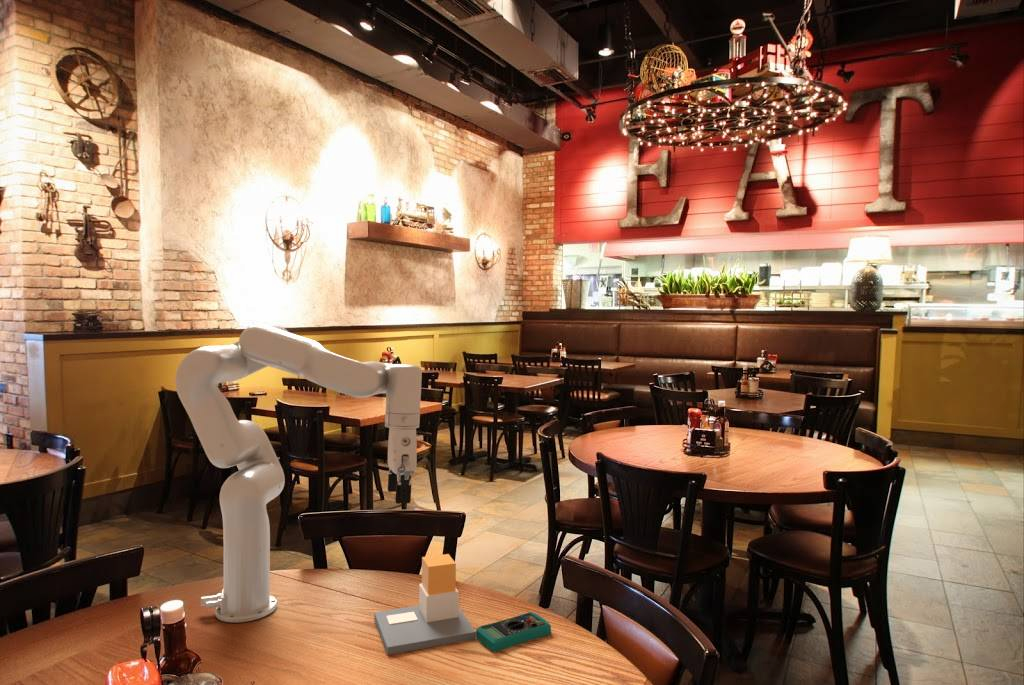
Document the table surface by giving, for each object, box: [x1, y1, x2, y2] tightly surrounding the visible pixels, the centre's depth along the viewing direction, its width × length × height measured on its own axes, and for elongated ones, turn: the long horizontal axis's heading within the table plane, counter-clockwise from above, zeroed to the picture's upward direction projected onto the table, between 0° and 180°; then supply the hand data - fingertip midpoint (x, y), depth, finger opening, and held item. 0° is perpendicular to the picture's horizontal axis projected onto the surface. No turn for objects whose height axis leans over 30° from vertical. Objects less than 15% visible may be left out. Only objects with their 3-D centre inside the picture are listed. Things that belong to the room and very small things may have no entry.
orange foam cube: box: [421, 553, 457, 595], centre depth 134 cm, size 6×6×6 cm
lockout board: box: [373, 582, 477, 656], centre depth 130 cm, size 18×16×7 cm
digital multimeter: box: [475, 611, 552, 653], centre depth 127 cm, size 7×15×3 cm, turn 123°
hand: (398, 497), depth 136 cm, fingers open, 9 cm apart
